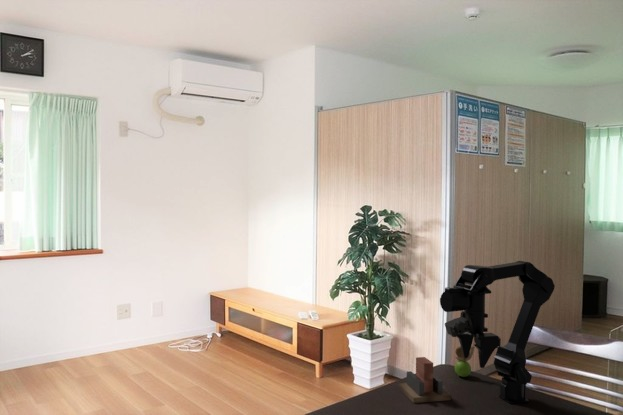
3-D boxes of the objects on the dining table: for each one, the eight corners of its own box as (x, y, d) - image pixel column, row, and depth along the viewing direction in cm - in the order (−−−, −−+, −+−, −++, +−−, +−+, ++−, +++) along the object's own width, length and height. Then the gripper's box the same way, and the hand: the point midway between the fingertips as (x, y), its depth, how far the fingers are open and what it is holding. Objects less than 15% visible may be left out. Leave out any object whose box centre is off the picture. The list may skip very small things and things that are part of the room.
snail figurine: (473, 380, 173) (474, 344, 173) (453, 377, 175) (454, 342, 175) (474, 375, 178) (475, 340, 178) (455, 372, 180) (455, 338, 180)
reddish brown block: (424, 385, 164) (424, 357, 164) (432, 392, 158) (433, 363, 158) (415, 385, 163) (416, 357, 163) (423, 393, 158) (424, 363, 157)
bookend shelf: (433, 385, 168) (433, 368, 168) (450, 399, 156) (451, 381, 156) (398, 388, 165) (398, 371, 165) (413, 402, 154) (413, 384, 154)
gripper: (434, 303, 158) (434, 354, 158) (464, 317, 140) (464, 375, 140) (468, 302, 160) (467, 352, 161) (502, 316, 142) (501, 372, 142)
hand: (473, 362), depth 151 cm, fingers open, 9 cm apart
